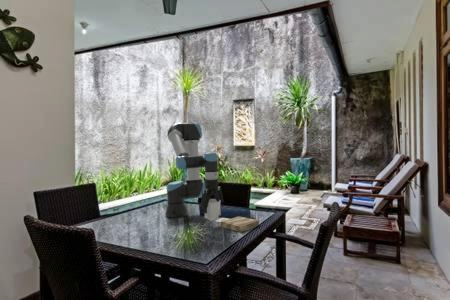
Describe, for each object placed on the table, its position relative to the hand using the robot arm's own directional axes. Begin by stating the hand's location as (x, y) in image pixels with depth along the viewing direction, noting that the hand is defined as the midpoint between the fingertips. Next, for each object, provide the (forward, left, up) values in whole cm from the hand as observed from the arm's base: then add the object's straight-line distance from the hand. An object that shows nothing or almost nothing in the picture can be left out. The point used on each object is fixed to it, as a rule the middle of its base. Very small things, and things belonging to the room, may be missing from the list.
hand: (212, 216), depth 178 cm
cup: (0, 0, -2) cm, 2 cm away
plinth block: (+13, +10, -6) cm, 17 cm away
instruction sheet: (-2, +14, -6) cm, 15 cm away
